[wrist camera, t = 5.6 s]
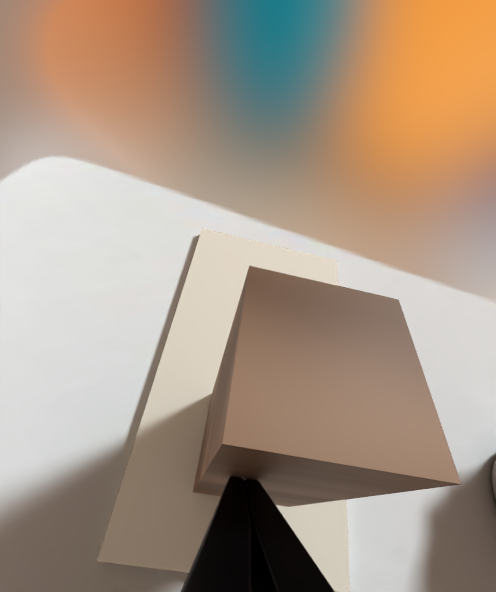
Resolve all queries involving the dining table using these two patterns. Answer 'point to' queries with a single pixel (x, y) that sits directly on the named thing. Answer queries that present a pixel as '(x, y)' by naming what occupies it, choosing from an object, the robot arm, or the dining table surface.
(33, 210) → the dining table surface
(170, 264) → the dining table surface
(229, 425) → the walnut block
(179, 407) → the beige mat
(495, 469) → the cupcake
